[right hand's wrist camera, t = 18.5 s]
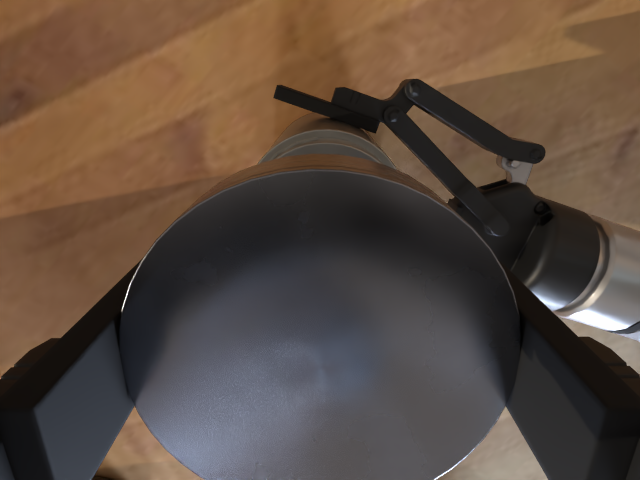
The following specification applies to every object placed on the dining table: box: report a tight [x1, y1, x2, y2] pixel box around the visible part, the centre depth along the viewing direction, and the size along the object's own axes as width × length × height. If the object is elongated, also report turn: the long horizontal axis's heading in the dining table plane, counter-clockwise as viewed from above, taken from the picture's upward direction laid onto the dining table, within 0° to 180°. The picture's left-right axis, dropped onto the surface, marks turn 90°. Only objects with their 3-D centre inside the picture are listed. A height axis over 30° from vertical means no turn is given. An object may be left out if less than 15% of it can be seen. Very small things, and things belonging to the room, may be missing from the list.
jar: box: [258, 113, 397, 170], centre depth 27 cm, size 8×8×15 cm
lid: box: [119, 154, 521, 480], centre depth 11 cm, size 10×10×2 cm
